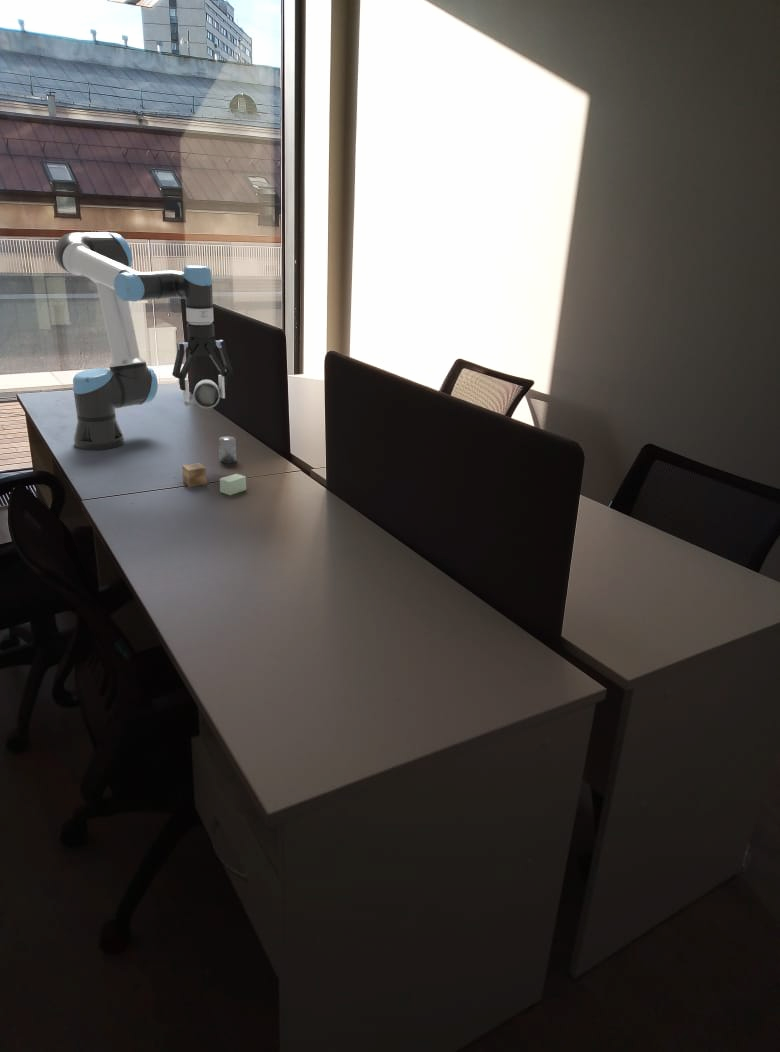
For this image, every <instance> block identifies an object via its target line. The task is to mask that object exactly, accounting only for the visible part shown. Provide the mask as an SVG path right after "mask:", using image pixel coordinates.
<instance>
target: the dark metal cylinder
mask: <svg viewBox="0 0 780 1052" xmlns="http://www.w3.org/2000/svg"><path fill="white" fill-rule="evenodd" d="M236 445H237V444H236V438H235V437H234V436H229V435H228V436H220V437H219V438H218V453H219V461H220V463H222V464H223V463H224V464H232V463H235V462H237V448H236V447H237V446H236Z"/></svg>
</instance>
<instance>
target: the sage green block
mask: <svg viewBox="0 0 780 1052" xmlns="http://www.w3.org/2000/svg"><path fill="white" fill-rule="evenodd" d="M244 491H247V477H246V476H245V475H243V474H242V475H241V474H239V473H234V474H231V475H230V474H229V475H227V476H224V477H223V476H222V477H221V478H219V492H220V493H221V494H225V495H227V496H228V495H229V496H233V495H235V494H237V493H241V492H244Z"/></svg>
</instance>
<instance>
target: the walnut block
mask: <svg viewBox="0 0 780 1052" xmlns="http://www.w3.org/2000/svg"><path fill="white" fill-rule="evenodd" d="M181 467H182V480H183V481H182V482H183V483H184V484H185V485H187V486H188V487H189V488H192V487H198V486H203V485H207V484H208V483H207V468H206V466H205V465H203V464H202V463H200V462H196V463H190V464H183V465H182V466H181Z"/></svg>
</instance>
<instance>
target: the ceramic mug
mask: <svg viewBox="0 0 780 1052" xmlns="http://www.w3.org/2000/svg"><path fill="white" fill-rule="evenodd" d="M220 399H221V397H220V392H219V385H218V384H217V383H216V382H214V381H213V380H212V379H202V380H200V381H198V382H197V383H196V385H195V386H194V390H193V393H192V395H189V402H186V401H185V400H184V399H183V404H184V406H185V407H189V406H192V405H194V404H196V405H197V406H198V407H200V408H202V409H212V408H214V407H216V406H217V404H219V402H220Z"/></svg>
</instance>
